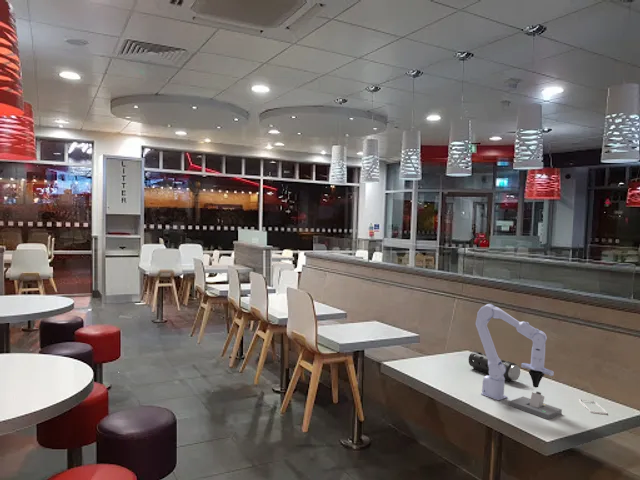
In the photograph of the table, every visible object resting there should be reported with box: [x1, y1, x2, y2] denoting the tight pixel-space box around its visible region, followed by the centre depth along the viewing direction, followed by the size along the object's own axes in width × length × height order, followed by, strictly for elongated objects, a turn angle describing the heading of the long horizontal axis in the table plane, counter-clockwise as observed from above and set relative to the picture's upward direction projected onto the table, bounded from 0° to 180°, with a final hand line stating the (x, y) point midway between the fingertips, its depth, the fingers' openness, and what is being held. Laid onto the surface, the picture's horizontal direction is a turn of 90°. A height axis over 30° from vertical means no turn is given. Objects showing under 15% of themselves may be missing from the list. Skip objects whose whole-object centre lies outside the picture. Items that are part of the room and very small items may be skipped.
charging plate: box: [508, 396, 563, 420], centre depth 215 cm, size 18×12×2 cm, turn 38°
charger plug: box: [529, 391, 545, 409], centre depth 216 cm, size 4×4×7 cm
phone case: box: [578, 399, 608, 415], centre depth 222 cm, size 7×1×15 cm
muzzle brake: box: [468, 350, 521, 382], centre depth 263 cm, size 10×28×10 cm, turn 30°
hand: (535, 386), depth 220 cm, fingers closed
